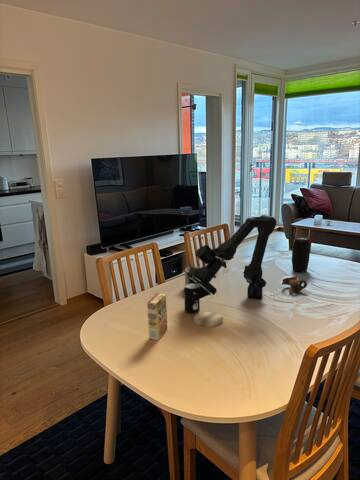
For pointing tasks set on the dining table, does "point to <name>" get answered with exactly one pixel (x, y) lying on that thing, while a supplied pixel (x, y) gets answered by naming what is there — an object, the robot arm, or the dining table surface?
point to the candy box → (157, 316)
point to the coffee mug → (188, 276)
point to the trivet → (208, 319)
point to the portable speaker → (300, 254)
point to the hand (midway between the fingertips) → (189, 297)
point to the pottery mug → (294, 284)
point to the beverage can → (191, 298)
